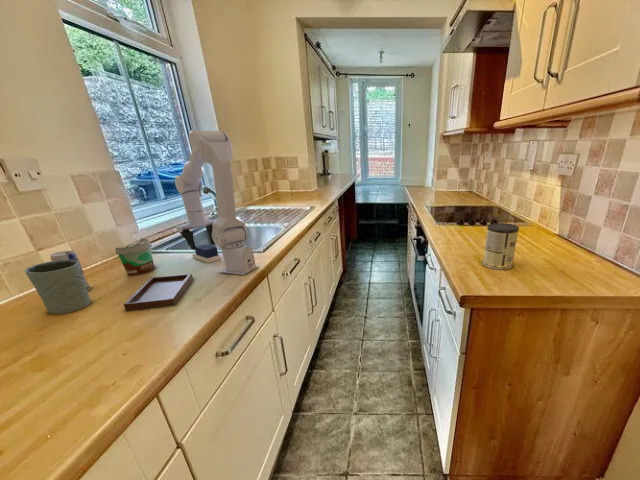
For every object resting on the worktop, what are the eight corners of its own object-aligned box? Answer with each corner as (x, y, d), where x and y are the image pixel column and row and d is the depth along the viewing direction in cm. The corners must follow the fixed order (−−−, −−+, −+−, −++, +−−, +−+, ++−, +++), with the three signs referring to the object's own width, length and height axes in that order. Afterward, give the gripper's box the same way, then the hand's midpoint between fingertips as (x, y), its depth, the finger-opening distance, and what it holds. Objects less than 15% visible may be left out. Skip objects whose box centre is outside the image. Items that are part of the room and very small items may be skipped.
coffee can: (487, 258, 122) (492, 221, 116) (515, 263, 117) (521, 225, 111) (478, 266, 114) (483, 227, 108) (508, 271, 109) (515, 231, 103)
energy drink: (94, 289, 97) (79, 251, 92) (74, 296, 93) (56, 257, 88) (83, 286, 99) (67, 249, 94) (62, 293, 94) (44, 255, 89)
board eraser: (220, 259, 122) (217, 247, 120) (208, 262, 119) (205, 250, 117) (205, 254, 128) (202, 242, 126) (193, 257, 124) (189, 245, 122)
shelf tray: (193, 278, 104) (191, 273, 103) (174, 305, 87) (172, 298, 86) (153, 282, 101) (151, 277, 101) (125, 311, 84) (123, 304, 83)
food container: (142, 277, 106) (132, 248, 102) (124, 277, 106) (113, 248, 102) (166, 264, 117) (158, 238, 113) (150, 264, 117) (141, 238, 113)
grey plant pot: (56, 302, 89) (37, 262, 84) (101, 296, 93) (84, 257, 88) (37, 318, 81) (14, 275, 76) (87, 311, 84) (68, 269, 79)
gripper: (208, 206, 123) (216, 240, 129) (168, 212, 112) (178, 249, 118) (218, 208, 120) (225, 243, 125) (177, 215, 109) (188, 252, 114)
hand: (203, 246), depth 121 cm, fingers open, 7 cm apart
